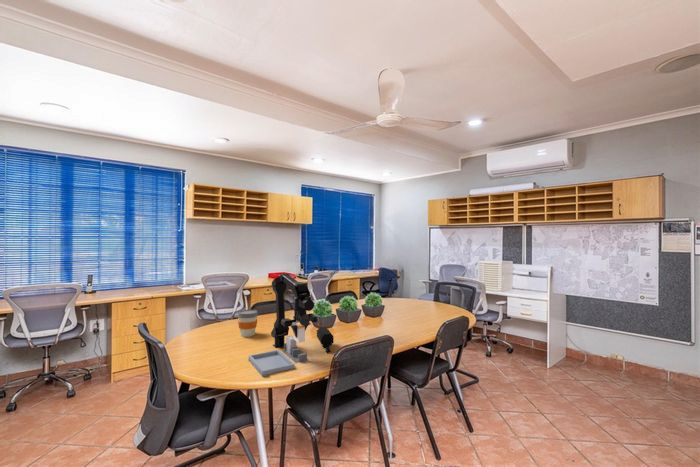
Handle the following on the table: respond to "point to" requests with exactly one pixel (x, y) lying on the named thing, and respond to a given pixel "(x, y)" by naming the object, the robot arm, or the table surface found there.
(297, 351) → the clip block
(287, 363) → the tray
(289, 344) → the block
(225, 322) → the table surface
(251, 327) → the reusable coffee cup
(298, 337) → the block
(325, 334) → the security camera
